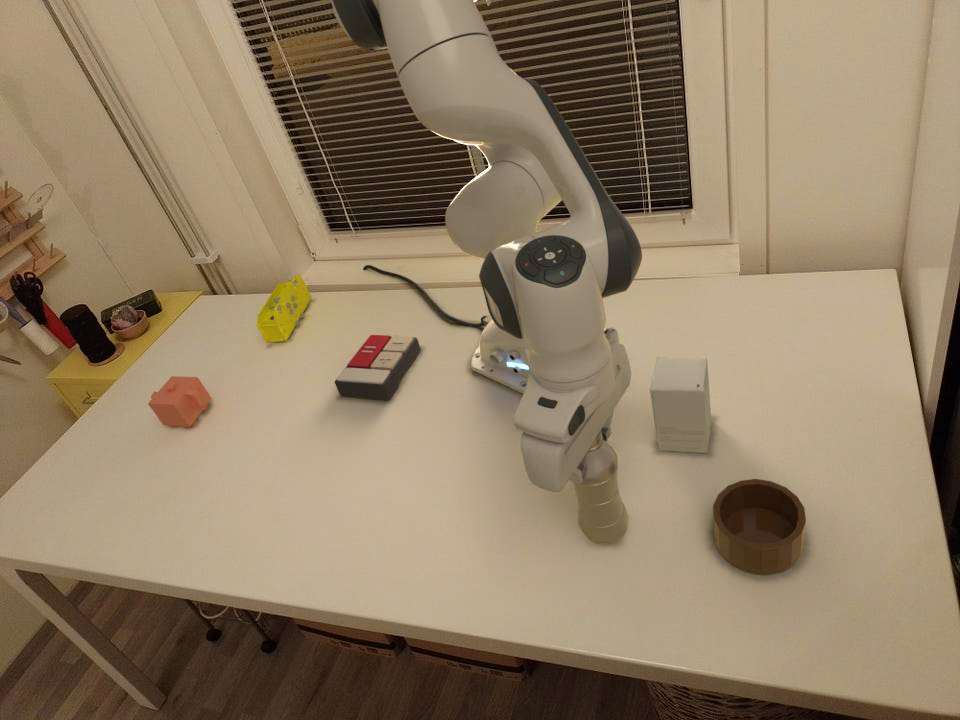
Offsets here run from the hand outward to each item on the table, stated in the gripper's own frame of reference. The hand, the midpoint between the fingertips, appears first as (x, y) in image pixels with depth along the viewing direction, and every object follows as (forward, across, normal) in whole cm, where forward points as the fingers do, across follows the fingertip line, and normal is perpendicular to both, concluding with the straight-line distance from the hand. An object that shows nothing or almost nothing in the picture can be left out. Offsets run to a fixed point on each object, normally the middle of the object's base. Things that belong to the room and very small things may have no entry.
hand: (590, 457), depth 87 cm
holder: (+15, -7, +18) cm, 25 cm away
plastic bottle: (+15, 0, 0) cm, 16 cm away
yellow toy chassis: (+17, -24, -90) cm, 94 cm away
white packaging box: (+16, -21, +3) cm, 26 cm away
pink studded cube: (+16, +7, -89) cm, 91 cm away
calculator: (+16, -17, -56) cm, 61 cm away
